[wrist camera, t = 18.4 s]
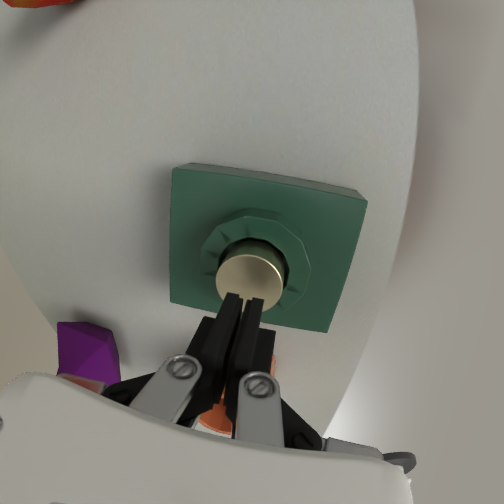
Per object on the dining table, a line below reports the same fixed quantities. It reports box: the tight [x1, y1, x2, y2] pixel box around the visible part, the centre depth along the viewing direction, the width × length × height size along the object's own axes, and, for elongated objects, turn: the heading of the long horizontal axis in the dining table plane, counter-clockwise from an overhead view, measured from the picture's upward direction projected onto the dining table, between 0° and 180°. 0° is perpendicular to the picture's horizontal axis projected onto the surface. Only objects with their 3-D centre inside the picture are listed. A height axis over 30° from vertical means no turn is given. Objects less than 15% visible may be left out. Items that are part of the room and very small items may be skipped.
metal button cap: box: [216, 241, 284, 312], centre depth 16 cm, size 4×4×2 cm
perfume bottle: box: [57, 322, 121, 386], centre depth 20 cm, size 8×8×18 cm
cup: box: [198, 356, 275, 435], centre depth 23 cm, size 7×7×7 cm
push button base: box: [169, 163, 368, 333], centre depth 18 cm, size 12×10×5 cm
